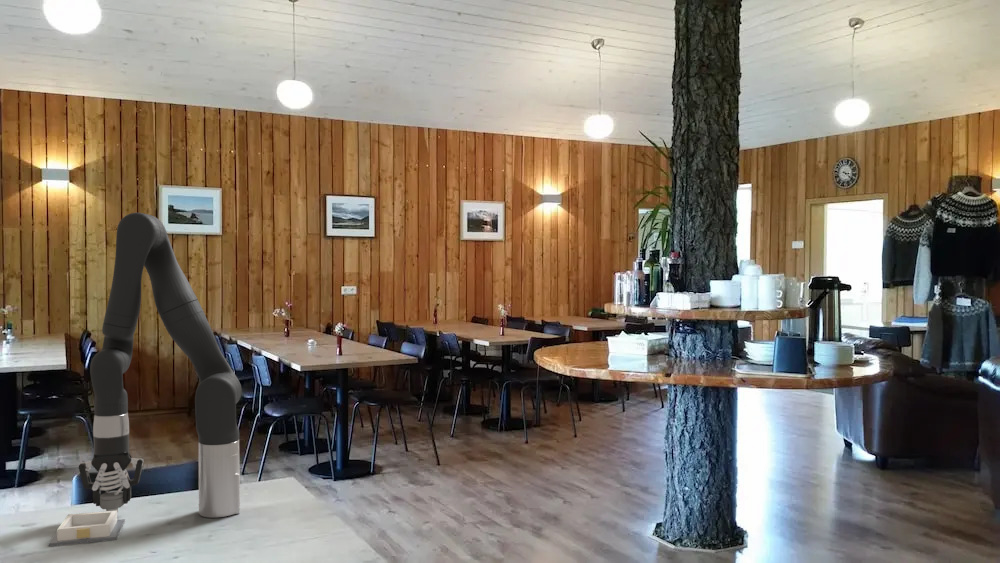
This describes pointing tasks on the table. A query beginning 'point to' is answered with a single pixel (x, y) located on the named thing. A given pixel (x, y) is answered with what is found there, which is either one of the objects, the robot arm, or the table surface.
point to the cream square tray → (87, 525)
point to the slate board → (112, 536)
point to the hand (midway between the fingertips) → (112, 503)
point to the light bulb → (111, 492)
